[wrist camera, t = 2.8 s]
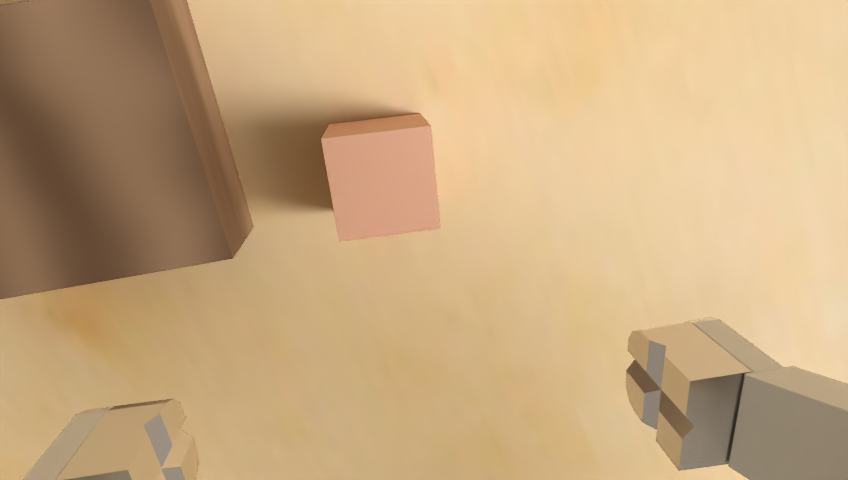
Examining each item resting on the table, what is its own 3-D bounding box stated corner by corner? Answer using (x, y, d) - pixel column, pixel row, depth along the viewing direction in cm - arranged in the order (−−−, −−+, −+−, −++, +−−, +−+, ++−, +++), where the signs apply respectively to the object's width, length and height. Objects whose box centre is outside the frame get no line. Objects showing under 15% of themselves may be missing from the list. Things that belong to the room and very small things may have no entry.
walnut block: (188, -3, 24) (144, -16, 19) (254, 224, 28) (232, 258, 24) (-65, 35, 23) (-173, 30, 19) (44, 261, 28) (-21, 302, 23)
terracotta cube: (420, 113, 27) (430, 125, 22) (428, 199, 29) (440, 228, 24) (329, 123, 26) (320, 138, 22) (344, 210, 28) (339, 241, 24)
